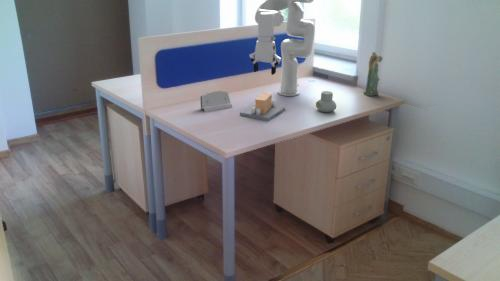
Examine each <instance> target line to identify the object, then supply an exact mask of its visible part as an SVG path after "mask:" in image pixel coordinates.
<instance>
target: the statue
mask: <svg viewBox="0 0 500 281" xmlns="http://www.w3.org/2000/svg"><path fill="white" fill-rule="evenodd" d="M382 61H383V56H381V55H377V53H376V52H374V51H373V52H372V53H371V55H370V56H369V61H368V71H367V77H366V86H365V90H363V94H364V95H365V96H367V97H371V96H378V95H379V91H378V85H379V81H380V78H379V74H378V73H379V63H380V62H382Z"/></svg>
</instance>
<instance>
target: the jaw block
mask: <svg viewBox="0 0 500 281" xmlns="http://www.w3.org/2000/svg"><path fill="white" fill-rule="evenodd" d="M272 96H273V94H272V93H264V92H262V93H261V94H260V95H259V96H257V97H256V99H255V100H254V101H255V103H254V104H255V113H256V111H257V108H260V109H261V111H260V113H261V114H265V113H266V112H267V111H268V110H269V109H270V108H271V100H273V99H272Z"/></svg>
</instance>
